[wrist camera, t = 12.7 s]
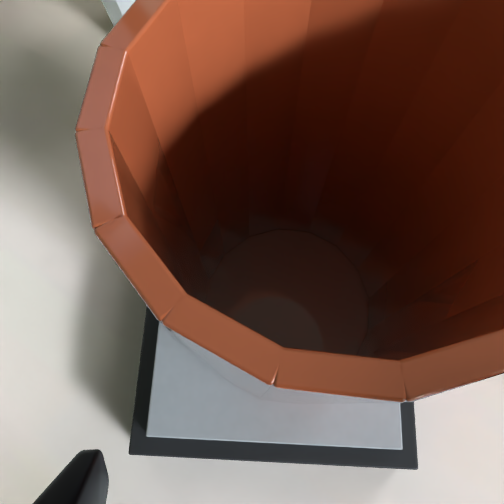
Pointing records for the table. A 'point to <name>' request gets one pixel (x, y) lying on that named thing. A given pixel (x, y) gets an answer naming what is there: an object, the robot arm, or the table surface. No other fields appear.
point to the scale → (254, 417)
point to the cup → (308, 188)
